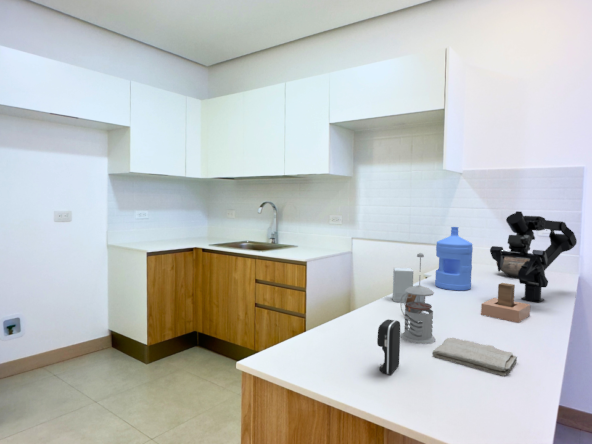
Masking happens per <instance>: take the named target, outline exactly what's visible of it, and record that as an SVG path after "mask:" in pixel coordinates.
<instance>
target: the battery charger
mask: <svg viewBox="0 0 592 444" xmlns="http://www.w3.org/2000/svg"><path fill="white" fill-rule="evenodd" d="M377 329H378V330H377V341H376V342H377V343H376V344H377V346H378V347H381V349H382V351H383V353H384V355H383V356H384V359H383V361H384V362H383V364H382V365H381V366H380V367H379V371H380V372H382V373H384V374H387V375H392V374H393V373H394V372H395V371H396V369H397V368H398V366H399V365H400V349H401V348H400V346H401V345H400V344H401V322H400V320H396V319H385V320H384V321H383V322H381V323H380V325H379V326H378V328H377Z"/></svg>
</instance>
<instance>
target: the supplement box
mask: <svg viewBox="0 0 592 444" xmlns="http://www.w3.org/2000/svg"><path fill="white" fill-rule="evenodd" d="M392 275H393V276H392V277H393V278H392V279H393V280H392V281H393V282H392V300H393V303H404V304H406V303H405V298H406V300H407V297H406V296H407V294H408V293H407V292H406V291H405V290H406V289H407V288H409V287H412V286H414V270H413V269H412V268H410V267H393V274H392ZM406 293H407V294H406ZM404 294H405V295H404ZM403 295H404V296H403ZM408 295H409V294H408ZM402 296H403V298H402ZM401 298H402V300H401Z"/></svg>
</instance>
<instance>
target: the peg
mask: <svg viewBox="0 0 592 444" xmlns="http://www.w3.org/2000/svg"><path fill="white" fill-rule="evenodd" d="M515 286H516V285H515V284H513V283H508V282H501V283H499V284H498V285H497V299H498V305H502V306H508V307H514V302H515V288H516V287H515Z"/></svg>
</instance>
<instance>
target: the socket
mask: <svg viewBox="0 0 592 444" xmlns="http://www.w3.org/2000/svg"><path fill="white" fill-rule="evenodd" d="M480 308H481V309H480V312H481V313H480V315H481V316H484V315H486V317H489V316H490V318H493V319H498V318H499V319H500V320H503V321H507V322H513V323H518V324H519V323H521V322H522V321H524V320H525V319H526V318H528V317H530V315H531V304H529V303H524V302H518V301H514V307H508V306H502V305H498V297H493V298H491V299H489V300H487V301H484V302H482V303H481V306H480Z"/></svg>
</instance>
